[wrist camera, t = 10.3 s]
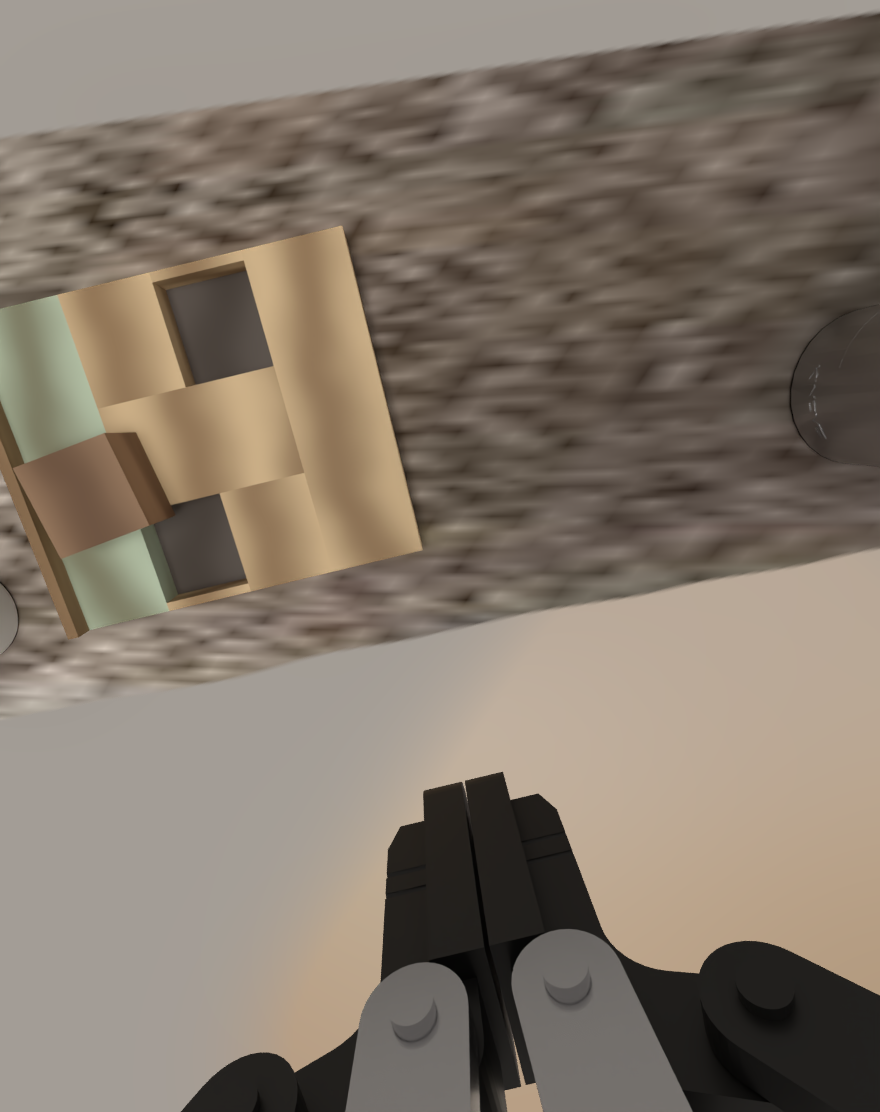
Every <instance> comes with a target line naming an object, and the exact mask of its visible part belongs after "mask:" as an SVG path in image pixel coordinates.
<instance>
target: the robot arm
mask: <svg viewBox="0 0 880 1112" xmlns="http://www.w3.org/2000/svg"><path fill="white" fill-rule="evenodd" d="M791 407H792V412H793V417H794V421H795V424H796V426H797V428H798V430H799V432H800V435H801V436H802V437H803V439H804V440H805V441H806V442H807V444H808V445H809V446H810V447H811V448H812V449H814V450H815V451H816V452H817V453H819V454H820V455H821V456H824V457H826V458H828V459H830V460H832V461H836V462H841V463H846V464H855V465H866V466H878V467H880V304H879V305H875V306H872V307H868V308H864V309H860V310H856V311H852V312H850V313H848V314H846V315H844V316H841V317H839V318H837V319H836V320H834V321H833V322H832V323H830V324H829V325H827V326H826V327H825V328H823V329H822V330H821V331H820V332H819V333H818V334H817V336H816V337H815V338H814V339H813V340H812V341H811V342H810V344H809V345H808V347H807V348H806V350H805V351H804V353H803V355H802V356H801V358H800V361H799V363H798V366H797V368H796V370H795V373H794V378H793V383H792V388H791ZM465 785H466V792H467V797H466V793H465V789H464V786H463V783H462V782H459V783H455V784H450V785H446V786H442V787H438V788H434V789H429V790H425V791H424V793H423V800H424V821H422V822H418V823H413V824H409V825H405V826H401V827H400V829H399V831H398V832H397V834H396V836H395V838H394V840H393V842H392V844H391V845H390V847H389V849H388V861H387V877H388V878H387V879H386V899H385V914H384V933H383V951H382V969H381V982H380V984H379V985H378V986H377V987H376V988H375V990H374V991H373V992H372V994H371V995H370V997H369V999H368V1000H367V1002H366V1004H365V1006H364V1009H363V1011H362V1014H361V1019H360V1023H359V1028H358V1029H357V1031H356V1032H355V1033H354V1034H353V1035H352V1036H351V1037H350V1038H348V1039H347V1040H346V1041H345V1042H344V1043H342V1044H341V1045H340V1046H338V1047H337V1048H336V1049H334V1050H332V1051H331V1052H329V1053H327V1054H326V1055H324V1056H322V1057H320V1058H319V1059H317V1060H315V1061H314V1062H312V1063H310V1064H309V1065H307V1066H305V1067H304V1068H302V1069H300V1070H298V1071H297V1072H295V1073H294V1071H293V1069H292V1068H291V1066H290V1064H289V1063H288V1062H287V1061H286V1060H285V1059H284V1058H282V1057H280V1056H278V1055H276V1054H272V1053H255V1054H250V1055H247V1056H244V1057H242V1058H239V1059H238V1060H235V1061H234V1062H232V1063H230V1064H228V1065H227V1066H226V1067H224V1068H223V1069H221V1070H220V1071H219V1072H218V1073H216V1074H215V1075H214V1076H213V1077H212V1078H211V1079H210V1080H209V1081H208V1082H207V1083H206V1084H205V1085H204V1086H203V1087H202V1088H201V1089H200V1090H199V1091H198V1093H197V1094H196V1095H195V1096H194V1097H193V1098H192V1100H191V1101H190V1102H189V1103H188V1104H187V1105H186V1106H185V1108H184V1109H183V1110H182V1111H181V1112H507V1107H506V1100H505V1092H504V1090H509V1089H513V1088H517V1087H521V1084H520V1077H519V1071H518V1065H517V1059H516V1052H515V1046H514V1041H515V1045H516V1049H517V1053H518V1057H519V1060H520V1064H521V1068H522V1072H523V1075H524V1079H525V1083H526V1085H528V1084H532V1083H536V1085H537V1089H538V1093H539V1097H540V1100H541V1104H542V1108H543V1112H880V996H879V995H877V994H875V993H873V992H871V991H869V990H867V989H865V988H863V987H861V986H859V985H857V984H855V983H853V982H851V981H849V980H847V979H845V978H843V977H841V976H839V975H837V974H834V973H833V972H831V971H829V970H826V969H825V968H823V967H821V966H819V965H816V964H814V963H812V962H811V961H809V960H807V959H805V958H802V957H801V956H798V955H796V954H794V953H792V952H790V951H788V950H785V949H783V948H781V947H779V946H775V945H772V944H768V943H763V942H757V941H741V942H734V943H730V944H727V945H724V946H722V947H720V948H718V949H716V950H715V951H714V952H713V953H711V954H710V955H709V956H708V958H707V959H706V960H705V961H704V963H703V965H702V967H701V969H700V973H699V974H697V973H685V972H673V971H664V970H657V969H653V968H650V967H646V966H644V965H641V964H639V963H636V962H634V961H633V960H631V959H629V958H627V957H626V956H624V955H623V954H622V953H621V952H619V951H618V950H617V949H616V948H615V947H614V946H613V945H612V944H611V943H610V942H609V940H608V939H607V937H606V936H605V934H604V932H603V930H602V928H601V926H600V923H599V920H598V918H597V915H596V912H595V910H594V907H593V904H592V902H591V899H590V897H589V894H588V891H587V888H586V886H585V884H584V881H583V878H582V875H581V873H580V870H579V867H578V865H577V862H576V859H575V857H574V854H573V852H572V849H571V846H570V844H569V841H568V838H567V836H566V834H565V830H564V828H563V825H562V822H561V820H560V817H559V814H558V812H557V809H556V808H555V807H553V806H552V805H551V804H550V803H549V802H548V801H546V800H545V799H544V798H543V797H542V796H541V795H539V794H535V795H530V796H526V797H522V798H518V799H513V800H510V797H509V793H508V789H507V786H506V782H505V778H504V774H503V772H500V773H496V774H491V775H488V776H483V777H479V778H475V779H471V780H466V781H465ZM467 799H468V801H467ZM513 1038H514V1041H513Z"/></svg>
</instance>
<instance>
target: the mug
mask: <svg viewBox="0 0 880 1112" xmlns="http://www.w3.org/2000/svg"><path fill="white" fill-rule="evenodd" d="M17 627H18V614H17V610H16V606H15V604H14V601H13V599H12V597H11V596H10V594H9V593H8V591H7V590H6V589H5V588H4V586H3V585H2V584H1V583H0V654H1V653H3V652H4V651H5V650H6V649H7V648H8V647H9V645H10V644H11V643H12V641H13V639H14V637H15V635H16V632H17Z"/></svg>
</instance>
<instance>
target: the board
mask: <svg viewBox="0 0 880 1112" xmlns="http://www.w3.org/2000/svg"><path fill="white" fill-rule="evenodd" d="M125 432H136V433H137V436H138V438H139V440H140V442H141V444H142V446H143V448H144V450H145V452H146V454H147V456H148V459H149V461H150V463H151V465H152V467H153V469H154V471H155V473H156V475H157V477H158V480H159V482H160V484H161V486H162V488H163V490H164V492H165V494H166V496H167V498H168V501H169V503H170V505H171V507H172V509H173V511H174V513H175V515H176V516H173V517H170V518H168V519H165V520H163V521H160V522H157V523H155V524H152V525H150V526H147V527H144V528H142V529H139V530H136V531H134V532H131V533H128V534H126V535H123V536H120V537H118V538H115V539H113V540H110V541H107V542H105V543H102V544H99V545H97V546H94V547H91V548H89V549H86V550H83V551H81V552H78V553H76V554H73V555H70V556H68V557H65V558H62V559H61V558H60V556H59V555H58V553H57V551H56V549H55V547H54V545H53V543H52V541H51V540H50V538H49V536H48V534H47V532H46V530H45V528H44V526H43V524H42V523H41V521H40V519H39V517H38V515H37V513H36V511H35V509H34V508H33V506H32V504H31V502H30V500H29V498H28V496H27V494H26V492H25V491H24V489H23V487H22V485H21V483H20V481H19V479H18V477H17V476H16V474H15V472H14V470H13V468H15V467H17V466H20V465H22V464H25V463H28V462H30V461H33V460H35V459H38V458H41V457H43V456H46V455H48V454H51V453H54V452H56V451H59V450H61V449H64V448H67V447H69V446H72V445H74V444H77V443H80V442H82V441H85V440H87V439H90V438H93V437H95V436H98V435H100V434H103V433H125ZM0 470H1V472H2V475H3V477H4V480H5V482H6V485H7V487H8V490H9V492H10V495H11V497H12V500H13V502H14V505H15V507H16V510H17V512H18V515H19V517H20V520H21V522H22V525H23V527H24V530H25V532H26V535H27V537H28V540H29V542H30V545H31V547H32V550H33V552H34V555H35V557H36V560H37V562H38V565H39V567H40V570H41V572H42V575H43V577H44V580H45V582H46V585H47V587H48V590H49V592H50V595H51V597H52V600H53V602H54V605H55V607H56V610H57V612H58V615H59V617H60V620H61V622H62V625H63V627H64V630H65V632H66V635H67V637H68V640H69V639H73V638H77V637H80V636H81V635H83V634H84V633H86V632H87V631H89V630H92V629H96V628H100V627H105V626H109V625H113V624H117V623H121V622H125V621H130V620H134V619H138V618H142V617H146V616H150V615H155V614H159V613H163V612H167V611H171V610H175V609H179V608H184V607H188V606H192V605H196V604H200V603H204V602H209V601H213V600H217V599H221V598H225V597H229V596H233V595H238V594H242V593H246V592H250V591H254V590H258V589H263V588H267V587H271V586H275V585H279V584H283V583H288V582H292V581H296V580H300V579H304V578H308V577H312V576H317V575H321V574H325V573H329V572H333V571H337V570H342V569H346V568H350V567H354V566H358V565H362V564H367V563H371V562H375V561H379V560H383V559H387V558H391V557H396V556H400V555H404V554H408V553H412V552H416V551H421V550H422V542H421V538H420V534H419V530H418V525H417V521H416V517H415V513H414V509H413V505H412V501H411V497H410V493H409V489H408V485H407V481H406V477H405V473H404V469H403V465H402V461H401V457H400V453H399V449H398V445H397V441H396V437H395V433H394V429H393V424H392V420H391V416H390V412H389V408H388V404H387V400H386V396H385V392H384V388H383V384H382V380H381V376H380V372H379V368H378V364H377V360H376V356H375V352H374V348H373V344H372V340H371V336H370V332H369V328H368V324H367V319H366V315H365V311H364V307H363V303H362V299H361V295H360V291H359V287H358V283H357V279H356V275H355V271H354V267H353V263H352V259H351V255H350V251H349V247H348V243H347V239H346V235H345V233H344V230H343V227H342V226H338V227H334V228H330V229H326V230H322V231H318V232H314V233H309V234H305V235H301V236H297V237H293V238H289V239H285V240H281V241H277V242H273V243H268V244H264V245H260V246H256V247H252V248H248V249H244V250H240V251H236V252H231V253H227V254H223V255H219V256H215V257H211V258H207V259H203V260H199V261H195V262H190V263H186V264H182V265H178V266H174V267H170V268H166V269H162V270H158V271H153V272H149V273H145V274H141V275H137V276H133V277H129V278H125V279H121V280H117V281H112V282H108V283H104V284H100V285H96V286H92V287H88V288H84V289H80V290H76V291H71V292H67V293H63V294H59V295H55V296H51V297H47V298H43V299H39V300H34V301H30V302H26V303H22V304H18V305H14V306H10V307H6V308H2V309H0Z"/></svg>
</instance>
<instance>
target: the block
mask: <svg viewBox="0 0 880 1112" xmlns="http://www.w3.org/2000/svg"><path fill="white" fill-rule="evenodd" d="M13 470H14V472H15V474H16V476H17V477H18V479H19V481H20V483H21V485H22V487H23V489H24V491H25V492H26V494H27V496H28V498H29V500H30V502H31V504H32V506H33V508H34V509H35V511H36V513H37V515H38V517H39V519H40V521H41V523H42V524H43V526H44V528H45V530H46V532H47V534H48V536H49V538H50V540H51V541H52V543H53V545H54V547H55V549H56V551H57V553H58V555H59V556H60V558H61V559H62V558H65V557H68V556H70V555H73V554H76V553H78V552H81V551H83V550H86V549H89V548H91V547H94V546H97V545H99V544H102V543H105V542H107V541H110V540H113V539H115V538H118V537H120V536H123V535H126V534H128V533H131V532H134V531H136V530H139V529H142V528H144V527H147V526H150V525H152V524H155V523H157V522H160V521H163V520H165V519H168V518H170V517H173V516H176V515H175V513H174V511H173V509H172V507H171V505H170V503H169V501H168V498H167V496H166V494H165V492H164V490H163V488H162V486H161V484H160V482H159V480H158V477H157V475H156V473H155V471H154V469H153V467H152V465H151V463H150V461H149V459H148V456H147V454H146V452H145V450H144V448H143V446H142V444H141V442H140V440H139V438H138V436H137V433H136V432H125V433H103V434H100V435H98V436H95V437H93V438H90V439H87V440H85V441H82V442H80V443H77V444H74V445H72V446H69V447H67V448H64V449H61V450H59V451H56V452H54V453H51V454H48V455H46V456H43V457H41V458H38V459H35V460H33V461H30V462H28V463H25V464H22V465H20V466H17V467H15V468H13Z"/></svg>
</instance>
